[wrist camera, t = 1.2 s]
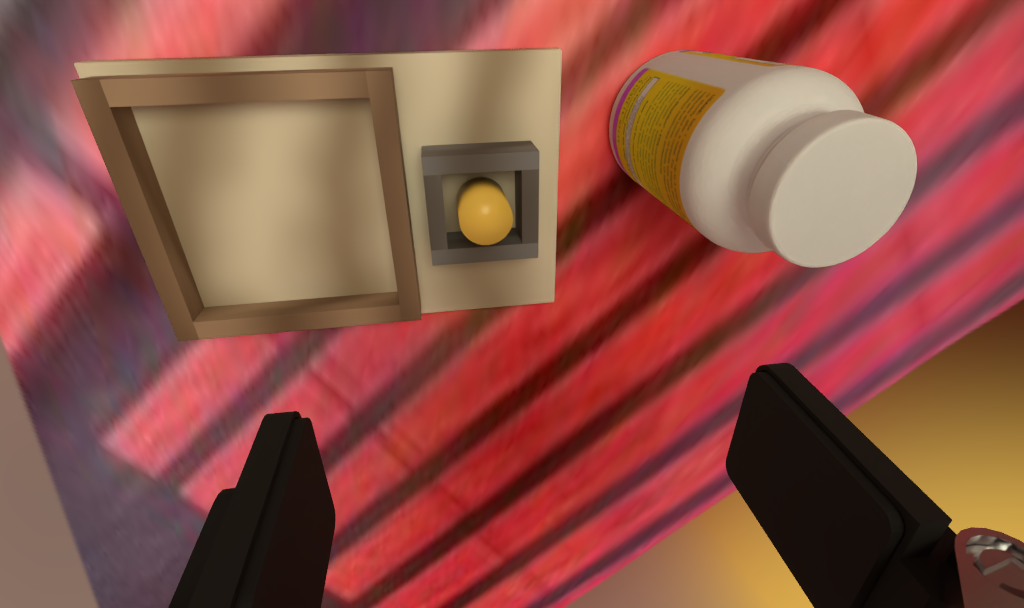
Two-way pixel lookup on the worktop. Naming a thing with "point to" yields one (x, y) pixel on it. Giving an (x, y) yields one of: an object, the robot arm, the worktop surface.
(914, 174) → the supplement bottle
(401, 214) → the beige tray
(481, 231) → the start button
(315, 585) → the robot arm
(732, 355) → the worktop surface
